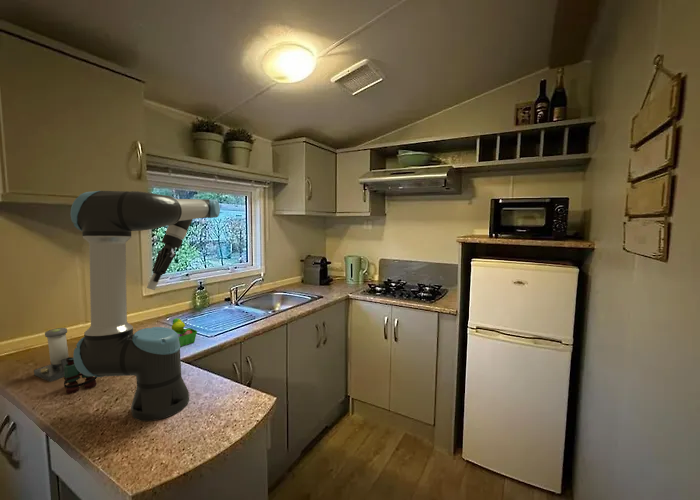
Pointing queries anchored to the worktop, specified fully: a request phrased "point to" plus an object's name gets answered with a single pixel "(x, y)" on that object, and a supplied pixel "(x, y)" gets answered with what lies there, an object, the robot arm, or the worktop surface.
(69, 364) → the binoculars
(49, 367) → the tribrach base
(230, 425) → the worktop surface
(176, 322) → the fruit basket
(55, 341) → the grey lidded cylinder
